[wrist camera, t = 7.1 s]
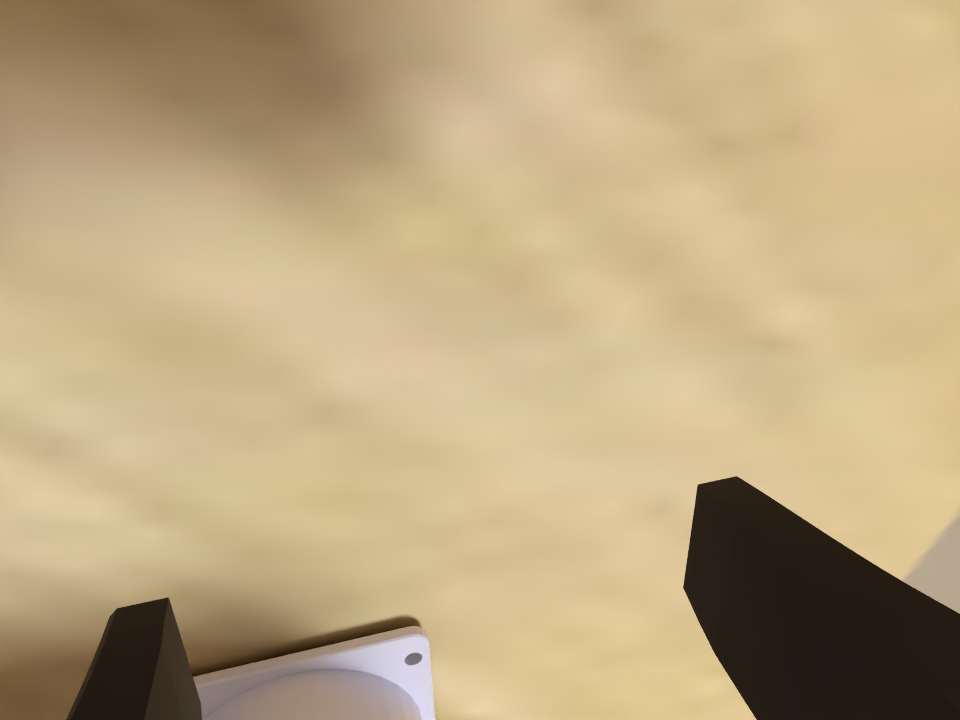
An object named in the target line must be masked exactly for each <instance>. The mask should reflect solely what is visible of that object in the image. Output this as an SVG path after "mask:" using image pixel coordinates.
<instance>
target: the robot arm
mask: <svg viewBox="0 0 960 720" xmlns="http://www.w3.org/2000/svg"><path fill="white" fill-rule="evenodd" d="M683 588H684V590H685V592H686V595H687V597H688V599H689V601H690V603H691V605H692V608H693V610H694V612H695V614H696V616H697V618H698V621H699V623H700V625H701V627H702V629H703V631H704V633H705V635H706V637H707V639H708V641H709V643H710V645H711V647H712V649H713V651H714V653H715V655H716V656H717V658H718V659H719V661H720V663H721V664H722V666H723V667H724V669H725V671H726V672H727V674H728V675H729V677H730V679H731V680H732V682H733V683H734V685H735V686H736V688H737V690H738V691H739V693H740V694H741V696H742V697H743V699H744V701H745V702H746V704H747V705H748V707H749V708H750V710H751V711H752V713H753V715H754V716H755V718H756V719H757V720H960V614H959V613H957V612H955V611H954V610H952V609H950V608H948V607H947V606H945V605H943V604H941V603H939V602H938V601H936V600H934V599H932V598H931V597H929V596H927V595H925V594H923V593H921V592H920V591H918V590H916V589H915V588H913V587H911V586H909V585H908V584H906V583H904V582H903V581H901V580H899V579H898V578H896V577H894V576H893V575H891V574H889V573H888V572H886V571H884V570H883V569H881V568H879V567H878V566H876V565H874V564H873V563H871V562H870V561H868V560H866V559H865V558H863V557H862V556H860V555H858V554H857V553H855V552H854V551H852V550H850V549H849V548H847V547H846V546H844V545H843V544H841V543H839V542H838V541H836V540H835V539H833V538H832V537H830V536H828V535H827V534H825V533H824V532H822V531H821V530H819V529H818V528H816V527H815V526H813V525H812V524H810V523H809V522H807V521H805V520H804V519H802V518H801V517H799V516H798V515H796V514H795V513H793V512H792V511H790V510H789V509H787V508H786V507H784V506H783V505H781V504H779V503H778V502H776V501H775V500H773V499H772V498H770V497H769V496H767V495H766V494H764V493H763V492H761V491H759V490H758V489H756V488H755V487H753V486H752V485H750V484H748V483H747V482H745V481H743V480H742V479H740V478H739V477H737V476H736V477H731V478H727V479H722V480H717V481H713V482H708V483H703V484H699V485H698V487H697V494H696V501H695V508H694V516H693V523H692V530H691V537H690V544H689V551H688V558H687V565H686V572H685V579H684V586H683ZM411 653H414V654H411ZM409 654H411V655H409ZM66 720H435V711H434V699H433V687H432V675H431V663H430V650H429V641H428V638H427V634H426V632H425V630H424V629H423V628H421V627H418V626H408V627H404V628H400V629H396V630H391V631H387V632H383V633H378V634H374V635H370V636H366V637H361V638H357V639H353V640H348V641H344V642H340V643H336V644H331V645H327V646H323V647H318V648H314V649H310V650H306V651H301V652H297V653H293V654H289V655H284V656H280V657H276V658H271V659H267V660H263V661H259V662H254V663H250V664H246V665H241V666H237V667H233V668H229V669H224V670H220V671H216V672H211V673H207V674H203V675H199V676H194V677H193V676H192V672H191V669H190V666H189V662H188V659H187V656H186V653H185V649H184V646H183V643H182V640H181V636H180V633H179V630H178V626H177V623H176V620H175V617H174V613H173V610H172V607H171V604H170V600H169V598H164V599H159V600H154V601H150V602H145V603H140V604H136V605H131V606H126V607H122V608H117V609H116V610H115V611H114V613H113V614H112V615H111V616H110V617H109V620H108V623H107V625H106V628H105V631H104V633H103V636H102V639H101V641H100V644H99V646H98V649H97V651H96V654H95V656H94V658H93V661H92V663H91V666H90V668H89V670H88V673H87V675H86V677H85V680H84V682H83V684H82V686H81V689H80V691H79V693H78V695H77V697H76V700H75V702H74V704H73V706H72V709H71V711H70V713H69V715H68V717H67V719H66Z"/></svg>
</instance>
